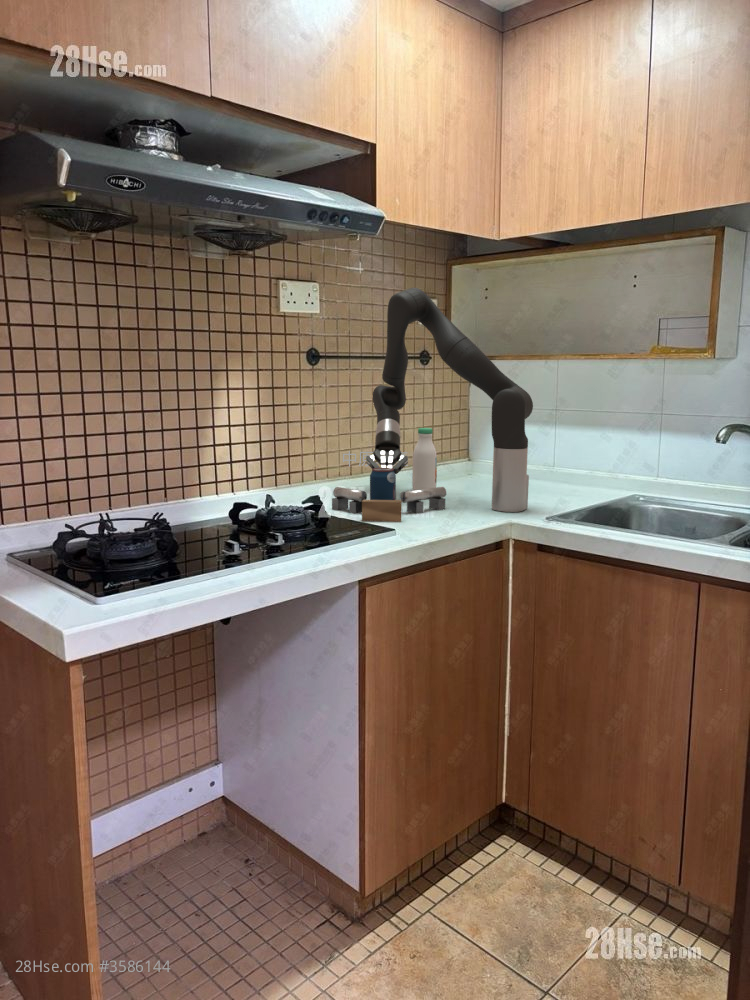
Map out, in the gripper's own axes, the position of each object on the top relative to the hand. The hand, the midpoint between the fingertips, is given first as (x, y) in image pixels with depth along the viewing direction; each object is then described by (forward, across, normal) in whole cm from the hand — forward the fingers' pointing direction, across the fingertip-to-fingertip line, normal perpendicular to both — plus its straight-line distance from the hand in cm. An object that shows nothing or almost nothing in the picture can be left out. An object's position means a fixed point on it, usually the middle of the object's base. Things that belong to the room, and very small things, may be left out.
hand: (386, 483), depth 206 cm
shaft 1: (+12, -10, -4) cm, 16 cm away
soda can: (+14, 0, -6) cm, 15 cm away
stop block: (+21, 0, -13) cm, 24 cm away
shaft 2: (+11, +11, -3) cm, 16 cm away
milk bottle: (-13, +11, +21) cm, 27 cm away
